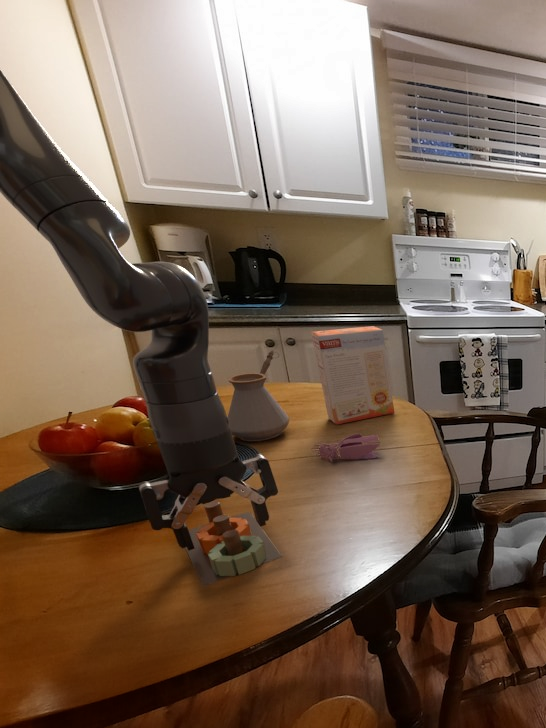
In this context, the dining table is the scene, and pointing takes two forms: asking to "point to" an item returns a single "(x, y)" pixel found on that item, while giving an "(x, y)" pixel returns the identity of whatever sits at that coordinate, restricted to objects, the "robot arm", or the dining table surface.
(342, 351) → the cracker box
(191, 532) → the rack
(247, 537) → the green ring
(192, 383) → the robot arm
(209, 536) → the orange grooved ring
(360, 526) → the dining table surface
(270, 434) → the coffee pot
